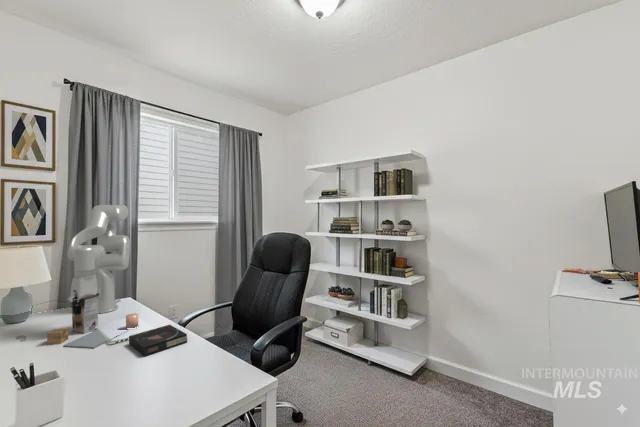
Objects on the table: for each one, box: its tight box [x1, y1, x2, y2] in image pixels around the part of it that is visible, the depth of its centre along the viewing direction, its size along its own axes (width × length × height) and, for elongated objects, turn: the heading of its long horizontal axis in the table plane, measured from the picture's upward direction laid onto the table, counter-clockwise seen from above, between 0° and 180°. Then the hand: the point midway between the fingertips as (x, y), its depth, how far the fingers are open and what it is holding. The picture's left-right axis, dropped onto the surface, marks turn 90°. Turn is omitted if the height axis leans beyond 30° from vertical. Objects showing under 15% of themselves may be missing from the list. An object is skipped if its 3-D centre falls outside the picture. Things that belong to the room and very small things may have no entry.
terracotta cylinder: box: [125, 313, 139, 329], centre depth 143 cm, size 5×5×6 cm
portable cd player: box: [128, 324, 188, 357], centre depth 126 cm, size 16×17×4 cm
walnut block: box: [46, 327, 69, 346], centre depth 128 cm, size 5×5×5 cm
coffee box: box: [71, 295, 99, 334], centre depth 141 cm, size 9×6×16 cm
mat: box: [63, 329, 107, 349], centre depth 131 cm, size 18×14×1 cm
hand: (85, 311), depth 141 cm, fingers closed on coffee box, 7 cm apart
